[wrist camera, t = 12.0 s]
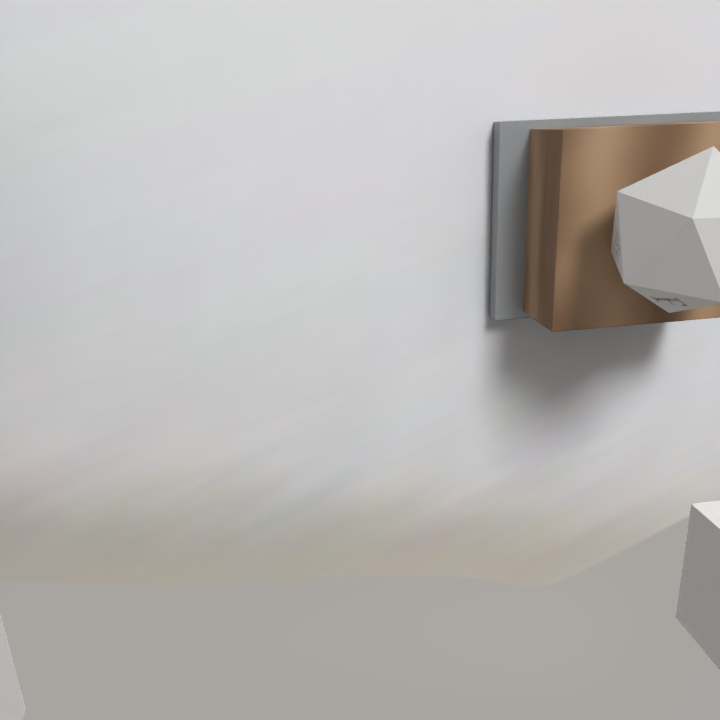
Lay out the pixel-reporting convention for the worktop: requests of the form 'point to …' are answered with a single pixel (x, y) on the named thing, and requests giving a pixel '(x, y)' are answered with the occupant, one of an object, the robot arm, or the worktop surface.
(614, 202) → the walnut brick
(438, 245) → the worktop surface
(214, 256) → the worktop surface
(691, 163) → the die
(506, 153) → the base plate
